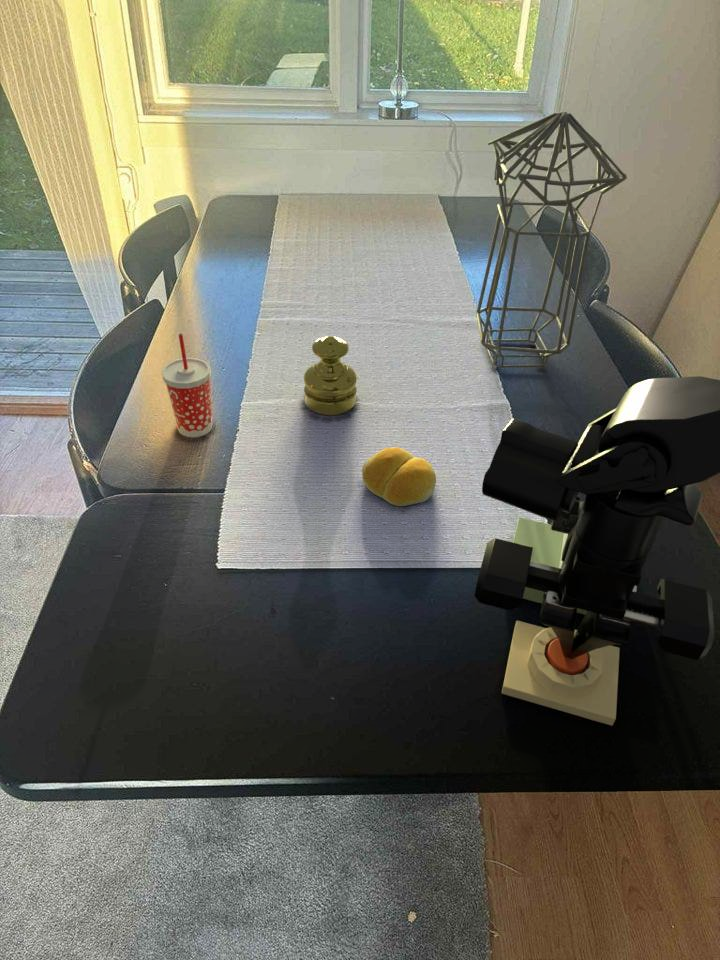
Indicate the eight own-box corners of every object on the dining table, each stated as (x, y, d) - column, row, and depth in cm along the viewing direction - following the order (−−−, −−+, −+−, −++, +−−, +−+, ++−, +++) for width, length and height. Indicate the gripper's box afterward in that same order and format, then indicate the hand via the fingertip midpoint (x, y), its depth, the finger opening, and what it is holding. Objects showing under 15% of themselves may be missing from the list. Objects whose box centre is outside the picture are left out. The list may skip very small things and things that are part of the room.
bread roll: (410, 518, 82) (413, 493, 79) (351, 485, 86) (352, 460, 83) (449, 483, 87) (453, 458, 84) (392, 453, 91) (393, 429, 88)
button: (585, 654, 66) (589, 643, 65) (582, 686, 64) (586, 675, 63) (546, 644, 67) (550, 633, 66) (542, 674, 65) (546, 663, 63)
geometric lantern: (554, 332, 117) (609, 99, 94) (575, 385, 105) (644, 132, 82) (460, 329, 116) (492, 95, 94) (470, 381, 105) (509, 127, 82)
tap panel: (622, 556, 78) (630, 536, 76) (617, 630, 71) (626, 610, 69) (515, 530, 81) (520, 510, 79) (499, 599, 73) (504, 579, 71)
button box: (616, 654, 68) (625, 636, 66) (612, 726, 63) (621, 708, 61) (514, 627, 70) (519, 608, 69) (501, 693, 65) (506, 675, 63)
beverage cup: (170, 416, 96) (153, 324, 87) (216, 411, 97) (204, 320, 88) (173, 443, 91) (155, 349, 82) (220, 437, 93) (208, 344, 83)
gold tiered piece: (309, 419, 96) (308, 356, 90) (300, 389, 102) (298, 328, 95) (361, 413, 98) (363, 350, 91) (349, 384, 103) (351, 323, 97)
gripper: (734, 496, 58) (673, 614, 68) (509, 448, 62) (484, 566, 72) (746, 594, 50) (675, 712, 60) (487, 532, 54) (462, 652, 64)
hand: (568, 653), depth 64 cm, fingers closed, pressing on button
